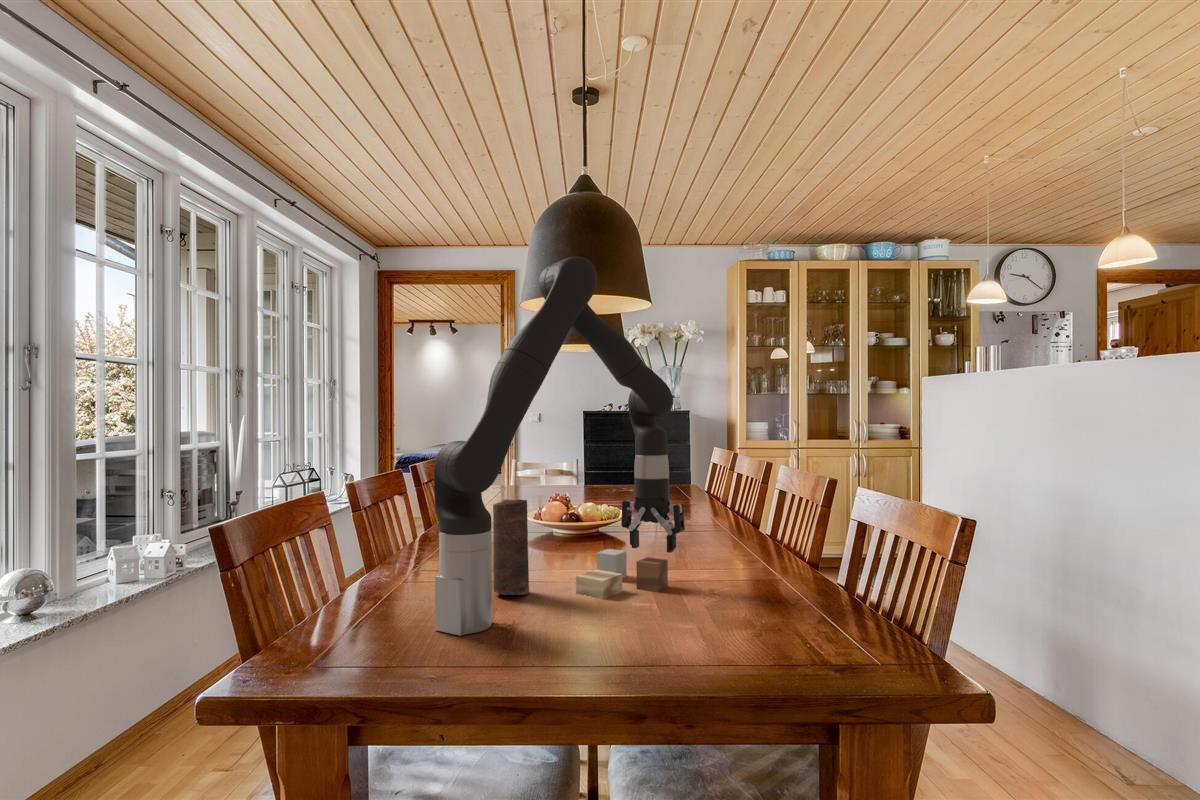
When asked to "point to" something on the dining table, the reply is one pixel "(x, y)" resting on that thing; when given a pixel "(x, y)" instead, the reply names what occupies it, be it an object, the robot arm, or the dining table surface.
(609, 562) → the grey block
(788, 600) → the dining table surface
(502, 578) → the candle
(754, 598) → the dining table surface
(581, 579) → the maple base
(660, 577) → the walnut block
